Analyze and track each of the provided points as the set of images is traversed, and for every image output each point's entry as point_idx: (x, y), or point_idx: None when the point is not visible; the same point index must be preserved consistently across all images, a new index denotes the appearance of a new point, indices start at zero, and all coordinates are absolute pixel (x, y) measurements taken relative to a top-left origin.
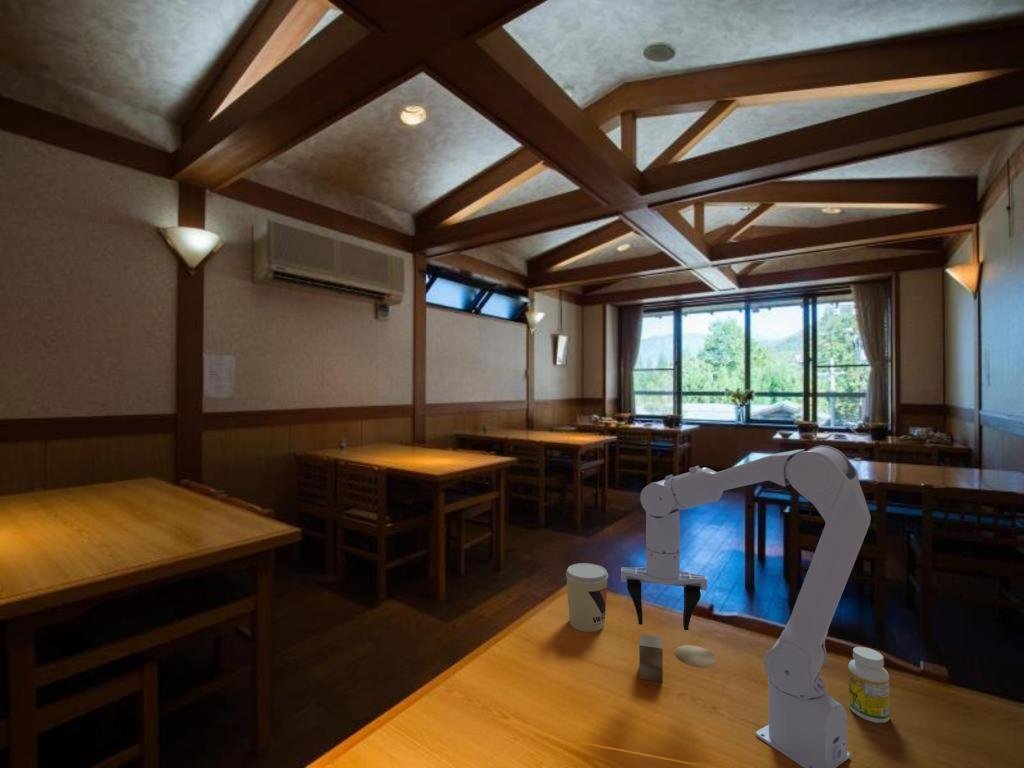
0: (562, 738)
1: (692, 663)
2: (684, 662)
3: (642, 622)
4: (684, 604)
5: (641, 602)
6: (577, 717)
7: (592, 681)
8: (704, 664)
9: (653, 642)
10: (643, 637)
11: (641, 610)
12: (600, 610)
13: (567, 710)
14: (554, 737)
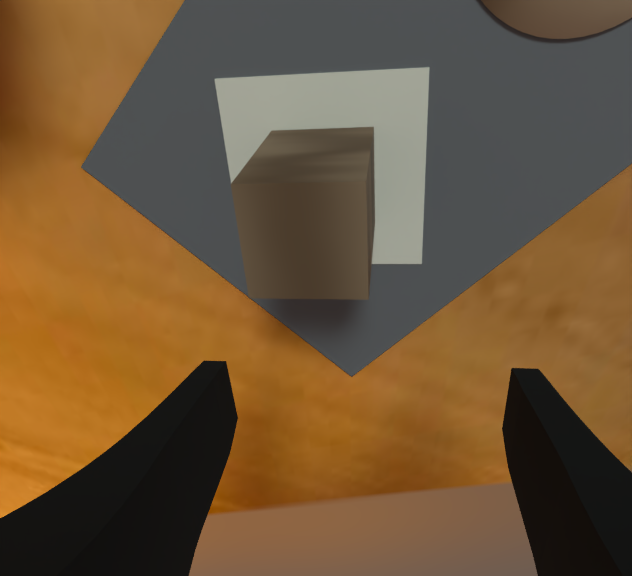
0: None
1: (546, 12)
2: (500, 18)
3: (233, 434)
4: (560, 523)
5: (176, 446)
6: None
7: (123, 271)
8: (617, 2)
9: (319, 254)
10: (258, 213)
11: (204, 518)
12: None
13: (111, 404)
14: None
